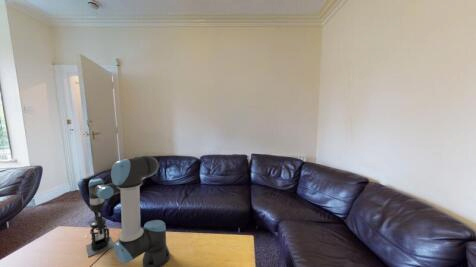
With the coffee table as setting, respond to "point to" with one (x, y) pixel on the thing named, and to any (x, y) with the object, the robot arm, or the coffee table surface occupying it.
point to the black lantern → (95, 237)
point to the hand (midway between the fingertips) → (99, 233)
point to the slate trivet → (109, 246)
